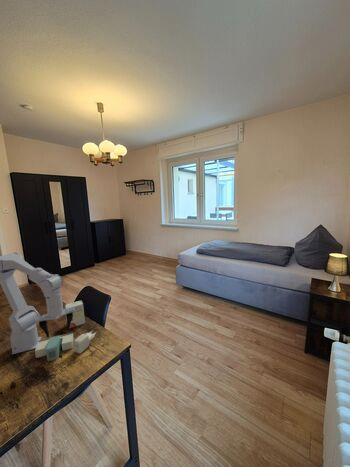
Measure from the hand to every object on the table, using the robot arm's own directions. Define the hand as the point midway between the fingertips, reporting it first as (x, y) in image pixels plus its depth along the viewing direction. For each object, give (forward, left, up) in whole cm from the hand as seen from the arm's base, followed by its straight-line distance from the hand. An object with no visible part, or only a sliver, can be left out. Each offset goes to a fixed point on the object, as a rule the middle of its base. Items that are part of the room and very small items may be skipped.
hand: (58, 332), depth 86 cm
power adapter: (+11, 0, -10) cm, 14 cm away
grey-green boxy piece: (-2, 0, -10) cm, 10 cm away
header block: (-2, +4, -9) cm, 10 cm away
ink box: (+5, +20, -10) cm, 23 cm away
